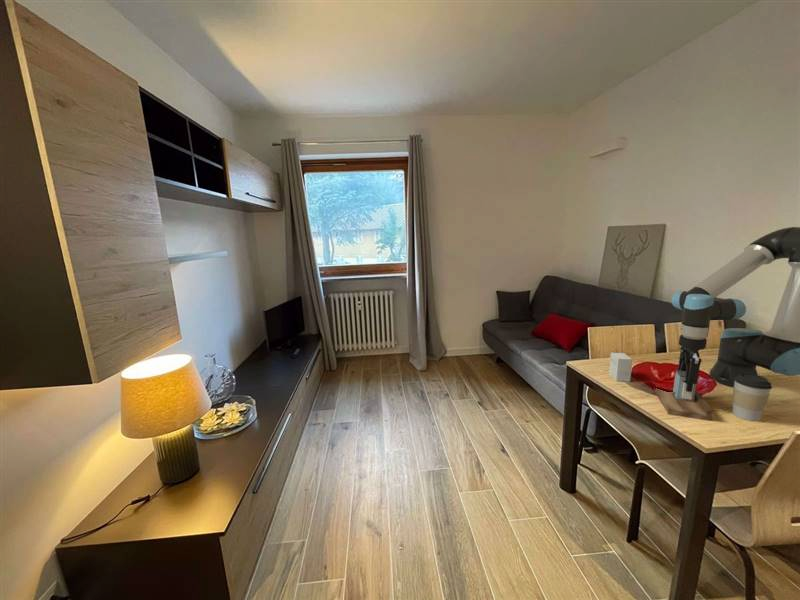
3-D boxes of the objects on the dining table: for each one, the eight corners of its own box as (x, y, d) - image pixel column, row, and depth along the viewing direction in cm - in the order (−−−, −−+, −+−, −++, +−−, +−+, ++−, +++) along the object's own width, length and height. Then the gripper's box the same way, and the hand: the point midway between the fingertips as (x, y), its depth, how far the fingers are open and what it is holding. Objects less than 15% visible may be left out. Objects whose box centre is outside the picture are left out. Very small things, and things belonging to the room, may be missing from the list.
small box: (630, 382, 144) (632, 359, 142) (615, 381, 145) (618, 358, 143) (622, 374, 151) (624, 352, 149) (608, 373, 153) (610, 352, 150)
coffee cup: (763, 415, 116) (771, 375, 113) (766, 426, 110) (775, 384, 107) (727, 406, 122) (734, 368, 119) (728, 417, 116) (736, 377, 113)
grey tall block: (688, 395, 127) (692, 372, 125) (693, 401, 123) (697, 377, 121) (669, 392, 130) (672, 369, 128) (672, 398, 125) (676, 374, 123)
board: (691, 396, 131) (693, 387, 130) (711, 421, 114) (713, 411, 113) (654, 390, 136) (655, 382, 135) (668, 414, 119) (669, 404, 118)
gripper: (673, 328, 130) (665, 383, 135) (688, 342, 115) (678, 404, 119) (697, 330, 127) (688, 386, 132) (716, 345, 111) (705, 408, 116)
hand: (683, 394), depth 126 cm, fingers closed on grey tall block, 5 cm apart
